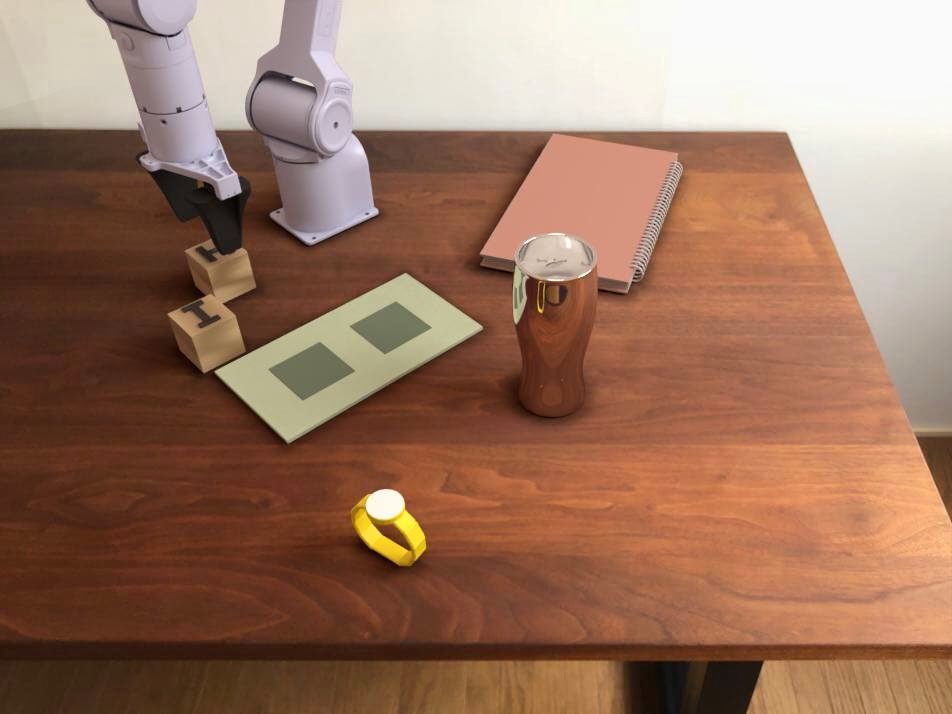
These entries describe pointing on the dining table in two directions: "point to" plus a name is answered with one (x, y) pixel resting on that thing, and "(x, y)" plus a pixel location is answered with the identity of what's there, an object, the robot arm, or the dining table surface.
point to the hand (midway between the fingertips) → (210, 233)
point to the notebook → (591, 205)
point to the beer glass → (554, 319)
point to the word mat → (346, 355)
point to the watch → (386, 511)
